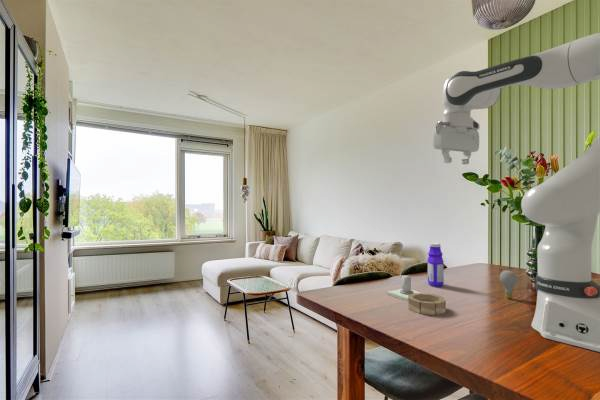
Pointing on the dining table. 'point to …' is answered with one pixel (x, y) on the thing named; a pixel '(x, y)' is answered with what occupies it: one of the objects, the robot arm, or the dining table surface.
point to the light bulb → (508, 282)
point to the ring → (426, 303)
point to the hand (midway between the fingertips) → (456, 163)
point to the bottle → (435, 265)
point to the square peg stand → (403, 289)
